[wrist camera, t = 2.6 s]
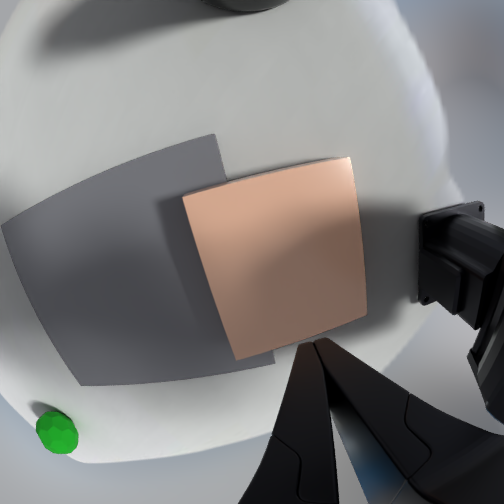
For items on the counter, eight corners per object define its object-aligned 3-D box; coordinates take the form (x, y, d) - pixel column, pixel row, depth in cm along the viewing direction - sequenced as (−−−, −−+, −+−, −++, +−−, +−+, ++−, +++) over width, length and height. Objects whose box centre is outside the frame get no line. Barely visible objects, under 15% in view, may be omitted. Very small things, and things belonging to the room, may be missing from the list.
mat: (215, 135, 13) (213, 133, 12) (273, 355, 18) (275, 363, 17) (7, 222, 14) (0, 225, 13) (84, 379, 18) (80, 385, 18)
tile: (184, 193, 13) (335, 157, 14) (232, 344, 16) (354, 303, 17) (182, 197, 11) (349, 156, 12) (236, 360, 14) (367, 314, 15)
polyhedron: (55, 398, 19) (37, 431, 15) (91, 427, 21) (77, 461, 16) (41, 407, 20) (25, 436, 16) (73, 434, 22) (60, 463, 17)
